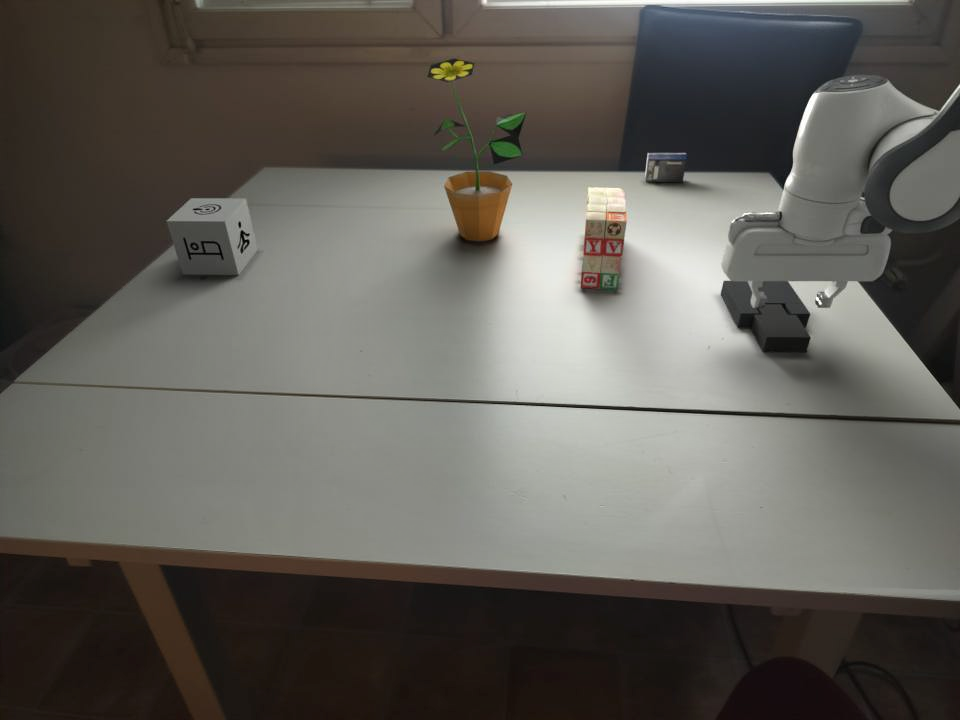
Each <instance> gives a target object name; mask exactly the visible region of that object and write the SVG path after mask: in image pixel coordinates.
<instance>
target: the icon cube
mask: <svg viewBox="0 0 960 720" xmlns="http://www.w3.org/2000/svg"><path fill="white" fill-rule="evenodd" d="M166 224H167V227H168V228H167V229H168V231H169V234H170V237H171V240H172V244H173V247H174V250H175V253H176V257H177V259H178V264H179V266H180V269H181V272H182V275H185V276H187V275H188V276H240V274H241V273H242V271H244V269H245V268H246V266H247V265H248V264H249V263H250V261H251V260H252V258H253V257H254V256H255V254H256V253H257V252H258V250H259V248H258V244H257V239H256V236H255V231H254V227H253V224H252V218H251V214H250V211H249V205H248V201H247V198H239V197H238V198H237V197H235V198H234V197H233V198H231V197H230V198H227V197H225V198H223V197H221V198H220V197H217V198H216V197H214V198H213V197H212V198H210V197H209V198H207V197H204V198H201V197H199V198H198V197H197V198H196V197H194V198H193V197H190V199H189V200H188V201H186V202H185V203H184V204H183V205H182V206H181V207H180V208H179V209H177V210H176V211H175V212H174V213H173V214H172V215H171V216H170V217H169V218H168V219H167V220H166Z"/></svg>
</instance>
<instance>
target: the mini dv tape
mask: <svg viewBox="0 0 960 720" xmlns="http://www.w3.org/2000/svg"><path fill="white" fill-rule="evenodd" d="M687 158H688V155H687V153H686V152H647V156H646V163H645V173H644V180H645V181H644V182H646V183H683V182H684V177H685V173H686V172H685V171H686V165H687Z"/></svg>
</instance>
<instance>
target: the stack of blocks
mask: <svg viewBox="0 0 960 720" xmlns="http://www.w3.org/2000/svg"><path fill="white" fill-rule="evenodd" d="M625 193H626V192H625V190H623V189H622V188H620V187H619V188H618V187H587V196H586V209H585V210H586V211H585V224H584V225H585V226H584V237H583V251H582V252H583V253H582V256H583V257H582V264H581V275H580V288H581V289H593V290H599V289H600V290H613V291H618V290H619V285H620V278H621V267H622V259H623V255H624V246H625V236H626V230H627V223H628V220H627V219H628V218H627V201H626V194H625Z"/></svg>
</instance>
